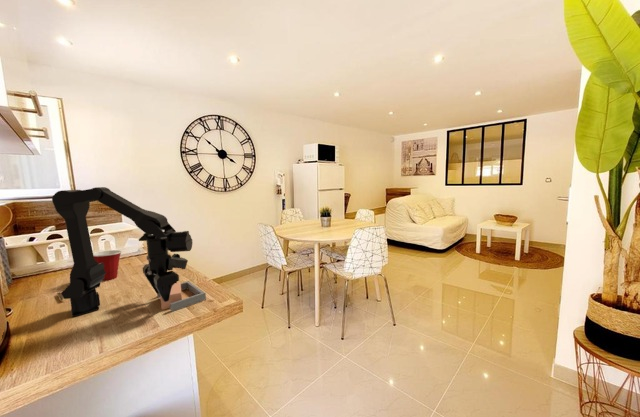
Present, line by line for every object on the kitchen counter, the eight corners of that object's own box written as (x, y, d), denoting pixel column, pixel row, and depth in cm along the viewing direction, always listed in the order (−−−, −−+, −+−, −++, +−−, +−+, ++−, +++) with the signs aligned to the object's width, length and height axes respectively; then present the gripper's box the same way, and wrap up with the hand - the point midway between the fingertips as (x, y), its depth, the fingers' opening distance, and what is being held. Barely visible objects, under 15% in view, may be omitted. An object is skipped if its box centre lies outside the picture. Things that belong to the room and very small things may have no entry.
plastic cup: (130, 274, 116) (127, 249, 114) (104, 284, 105) (101, 256, 104) (113, 272, 119) (110, 247, 117) (86, 281, 108) (82, 254, 107)
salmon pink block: (161, 310, 84) (160, 297, 83) (162, 297, 92) (161, 286, 92) (182, 305, 87) (181, 292, 86) (181, 294, 95) (180, 282, 95)
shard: (62, 304, 90) (61, 299, 90) (39, 305, 90) (38, 300, 89) (88, 290, 101) (87, 286, 101) (67, 291, 100) (67, 287, 100)
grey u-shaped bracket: (171, 311, 82) (171, 304, 82) (157, 296, 93) (156, 290, 93) (206, 299, 90) (205, 292, 90) (189, 287, 101) (188, 281, 101)
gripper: (193, 252, 85) (197, 297, 86) (175, 243, 97) (178, 282, 99) (155, 260, 77) (160, 309, 78) (140, 249, 89) (144, 292, 91)
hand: (162, 297), depth 87 cm, fingers open, 9 cm apart
